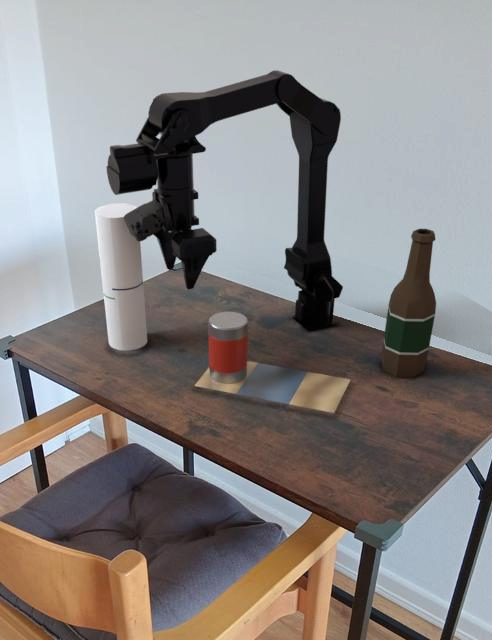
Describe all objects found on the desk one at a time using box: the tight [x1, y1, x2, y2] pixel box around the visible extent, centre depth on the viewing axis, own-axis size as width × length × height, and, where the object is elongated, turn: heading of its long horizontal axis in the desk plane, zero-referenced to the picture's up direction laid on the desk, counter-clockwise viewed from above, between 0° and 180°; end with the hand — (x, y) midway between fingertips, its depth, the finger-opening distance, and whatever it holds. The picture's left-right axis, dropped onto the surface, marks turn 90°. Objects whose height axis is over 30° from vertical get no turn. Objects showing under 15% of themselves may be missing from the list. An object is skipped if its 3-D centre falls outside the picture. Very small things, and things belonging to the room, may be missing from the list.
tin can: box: [208, 311, 249, 384], centre depth 126 cm, size 6×6×10 cm
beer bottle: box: [380, 228, 437, 379], centre depth 124 cm, size 8×8×24 cm
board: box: [194, 360, 352, 414], centre depth 126 cm, size 24×11×1 cm, turn 68°
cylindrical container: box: [94, 202, 148, 352], centre depth 132 cm, size 7×7×25 cm
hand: (179, 278), depth 128 cm, fingers open, 9 cm apart
